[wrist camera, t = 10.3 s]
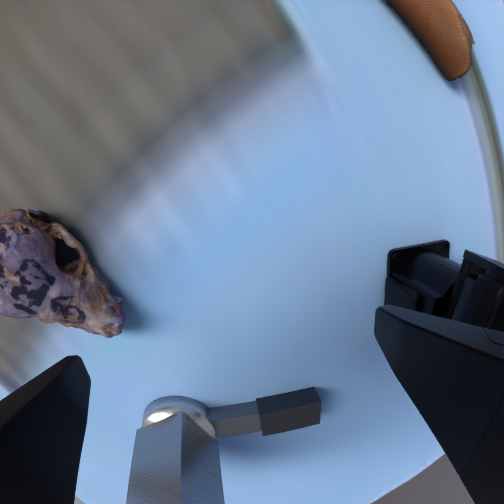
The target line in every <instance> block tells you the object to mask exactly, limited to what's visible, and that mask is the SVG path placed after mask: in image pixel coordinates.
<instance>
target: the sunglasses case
mask: <svg viewBox="0 0 504 504" xmlns="http://www.w3.org/2000/svg"><path fill="white" fill-rule="evenodd" d="M385 1H386V2H387V3H388V4H389V5H390V6H391V7H392V8H393V9H394V10H395V11H396V12H397V13H398V14H399V15H400V17H401V18H402V19H403V21H404V22H405V23H406V24H407V26H408V27H409V28H410V29H411V30H412V32H413V33H414V34H415V35H416V37H417V38H418V39H419V40H420V42H421V43H422V44H423V46H424V47H425V48H426V50H427V51H428V53H429V54H430V56H431V57H432V59H433V60H434V61H435V63H436V64H437V65H438V67H439V69H440V70H441V72H442V73H443V75H444V76H445V77H446V79H447V80H448V81H449V80H454V79H457V78H460V77H462V76H463V75H464V74H465V73H466V72H467V71H468V70H469V68H470V66H471V54H470V53H471V47H472V44H474V43H475V42H474V41H473V37H472V34H471V31H470V29H469V27H468V25H467V24H466V22H465V20H464V18H463V17H462V15H461V14H460V12H459V11H458V9H457V7H456V6H455V4H454V3H453V2H452V0H385Z"/></svg>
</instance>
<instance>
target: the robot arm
mask: <svg viewBox="0 0 504 504" xmlns="http://www.w3.org/2000/svg"><path fill="white" fill-rule="evenodd" d="M444 245H445V246H444ZM449 248H450V243H449V242H448V241H447V240H439V241H433V242H428V243H423V244H417V245H412V246H407V247H401V248H396V249H392V250H390V251H389V253H388V260H387V278H386V284H385V301H384V306H381V307H378V308H377V309H376V313H375V326H374V334H375V338H376V340H377V342H378V344H379V345H380V347H381V349H382V351H383V353H384V355H385V357H386V359H387V361H388V363H389V365H390V367H391V369H392V370H393V372H394V374H395V376H396V377H397V379H398V380H399V382H400V383H401V385H402V386H403V388H404V389H405V391H406V392H407V394H408V395H409V397H410V398H411V400H412V401H413V403H414V405H415V406H416V408H417V409H418V411H419V412H420V414H421V415H422V417H423V418H424V420H425V422H426V423H427V425H428V426H429V428H430V429H431V431H432V433H433V434H434V436H435V437H436V439H437V441H438V442H439V444H440V445H441V447H442V449H443V450H444V452H445V454H446V455H447V457H448V458H449V460H450V462H451V463H452V465H453V467H454V468H455V470H456V472H457V473H458V475H460V479H461V480H462V482H463V484H464V486H465V487H466V489H467V491H468V492H469V494H470V496H471V498H472V499H473V501H474V503H475V504H504V264H503V263H500V262H498V261H496V260H493V259H490V258H488V257H485V256H482V255H479V254H477V253H474V252H471V251H468V250H466V249H465V252H464V255H463V257H464V259H463V262H462V265H460V264H458V263H456V262H454V261H452V260H450V259H449ZM394 254H395V257H394V258H393V255H394ZM90 388H91V379H90V376H89V374H88V372H87V370H86V367H85V365H84V363H83V361H82V359H81V357H80V356H78V355H74V356H67V357H65V358H63V359H62V360H60V361H59V362H57V363H56V364H54V365H53V366H51V367H50V368H48V369H47V370H45V371H44V372H42V373H41V374H39V375H38V376H36V377H35V378H33V379H32V380H30V381H29V382H27V383H26V384H24V385H23V386H21V387H20V388H18V389H17V390H15V391H14V392H13V393H11V394H10V395H8V396H7V397H5V398H4V399H2V400H1V401H0V504H74V499H75V491H76V483H77V476H78V470H79V464H80V457H81V452H82V446H83V441H84V436H85V430H86V425H87V416H88V406H89V397H90Z"/></svg>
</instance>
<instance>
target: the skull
mask: <svg viewBox="0 0 504 504" xmlns="http://www.w3.org/2000/svg"><path fill="white" fill-rule="evenodd" d="M57 238H59V239H61V240H63V239H64V242H65V244H66V245H67V246H69V247H71V248H75V249H76V250H77V251H78V253H79V254H80V256H79V257H78V259H76V260H75V261H72V262H70V263H66V264H64V265H62V266H59V265H57V264H56V262H55V258H56V240H57ZM109 290H110V286H109V284H108V282H107V279H106V278H105V277H102V275H101V274H99V273H98V271H97V269H96V268H94V267H93V266H92V265H91V264H90V262H89V259H88V253H87V252H86V250H85V249H84V247H83V245H82V244H81V243H80V242H79V241H78V240H77V239H75V238H74V237H73V235H72V234H70V233H69V232H68V231H67V230H66V229H65V228H64V227H63V226H62V225H61V224H59V223H56V221H55V220H53V218H52V217H51V216H50V215H49V214H47V213H45V212H43V211H40V210H38V211H34V210H31V209H27V211H25V210H23V209H13V210H9V211H7V212H5V213H4V214H3V215H1V216H0V314H1V315H3V316H6V317H10V318H32V317H34V318H36V319H38V320H40V321H42V322H45V323H52V322H59V323H61V324H62V325H64V326H66V327H71V326H72V327H75V328H80V329H83V330H85V331H87V332H91V333H93V334H99V335H102V336H104V337H107V338H111V337H113V336H117V335H119V334H120V333H121V332H122V326H123V323H124V320H125V313H124V311H123V309H122V308H121V307H120V306H119V303H120V302H121V301H122V299H123V297H116V296H113V295H112V294H111V293H110V292H109Z"/></svg>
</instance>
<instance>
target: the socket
mask: <svg viewBox="0 0 504 504" xmlns="http://www.w3.org/2000/svg"><path fill="white" fill-rule="evenodd" d="M126 504H225V502H224V494H223V486H222V477H221V468H220V458H219V448H218V441H217V440H216V439H214V438H213V437H212V436H211V435H210V434H208V433H207V432H206V431H205V430H204V429H203V428H201V427H200V426H199V425H198V424H197V423H196V422H195V421H193V420H192V419H191V418H190V417H189V416H188V415H187V414H186V413H185V412H184V411H182V410H181V411H179V412H177V413H175V414H173V415H170V416H168V417H166V418H164V419H161V420H159V421H157V422H154V423H152V424H150V425H147V426H145V427H142V428H140V429H137V432H136V438H135V444H134V450H133V456H132V463H131V470H130V477H129V485H128V493H127V501H126Z"/></svg>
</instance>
